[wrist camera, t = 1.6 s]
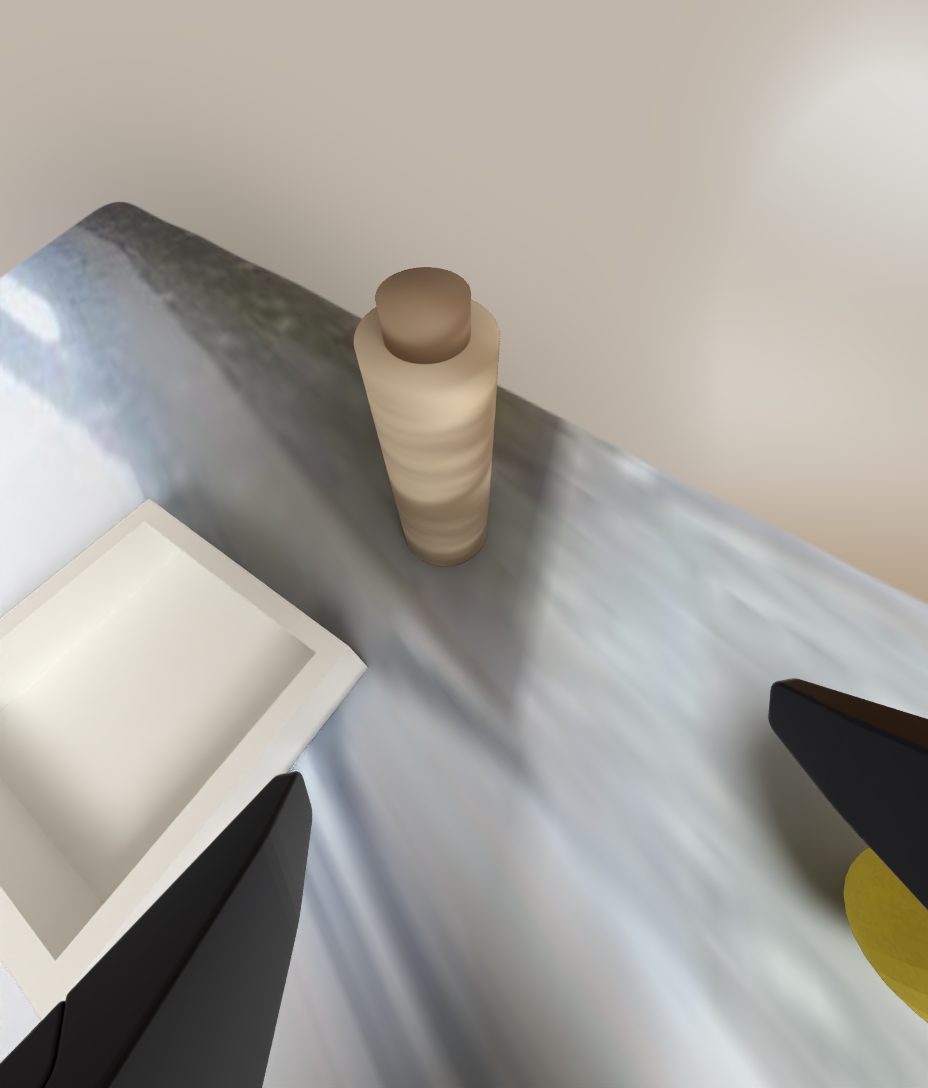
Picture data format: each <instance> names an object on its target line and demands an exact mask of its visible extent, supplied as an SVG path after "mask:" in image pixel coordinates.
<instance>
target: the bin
mask: <svg viewBox="0 0 928 1088" xmlns="http://www.w3.org/2000/svg"><path fill="white" fill-rule="evenodd" d="M367 669H368V667H367V666H366V665H365V664H364V662H363V661H362V660H361V659H360V658H359V657H358V656H357V655H356V654H355V653H354V651H353V650H352V649H351V648H350V647H349V646H348V645H346V644H345V643H344V642H342V641H341V640H340V639H338V638H337V637H336V636H334V635H333V634H332V633H330V632H329V631H327V630H326V629H325V628H323V627H322V626H321V625H319V624H318V623H317V622H315V621H314V620H313V619H311V618H310V617H309V616H307V615H306V614H304V613H303V612H302V611H300V610H299V609H298V608H296V607H295V606H294V605H292V604H291V603H290V602H288V601H287V600H286V599H284V598H283V597H282V596H280V595H279V594H277V593H276V592H275V591H273V590H272V589H271V588H269V587H268V586H267V585H265V584H264V583H263V582H261V581H260V580H259V579H257V578H256V577H254V576H253V575H252V574H250V573H249V572H248V571H246V570H245V569H244V568H242V567H241V566H240V565H238V564H237V563H236V562H234V561H233V560H231V559H230V558H229V557H227V556H226V555H225V554H223V553H222V552H221V551H219V550H218V549H217V548H215V547H214V546H213V545H211V544H210V543H209V542H207V541H206V540H204V539H203V538H202V537H200V536H199V535H198V534H196V533H195V532H194V531H192V530H191V529H190V528H188V527H187V526H186V525H184V524H183V523H181V522H180V521H179V520H177V519H176V518H175V517H173V516H172V515H171V514H169V513H168V512H167V511H165V510H164V509H163V508H161V507H160V506H159V505H157V504H156V503H154V502H153V501H152V500H150V499H147V500H146V501H145V502H144V503H143V504H141V505H140V506H139V507H138V508H136V509H135V510H134V511H133V512H131V513H130V514H129V515H128V516H126V517H125V518H124V519H123V520H121V521H120V522H119V523H118V524H116V525H115V526H114V527H113V528H111V529H110V530H109V531H108V532H107V533H105V534H104V535H103V536H102V537H100V538H99V539H98V540H97V541H95V542H94V543H93V544H92V545H90V546H89V547H88V548H87V549H85V550H84V551H83V552H82V553H80V554H79V555H78V556H77V557H75V558H74V559H73V560H72V561H70V562H69V563H68V564H67V565H66V566H64V567H63V568H62V569H61V570H59V571H58V572H57V573H56V574H54V575H53V576H52V577H51V578H49V579H48V580H47V581H46V582H44V583H43V584H42V585H41V586H39V587H38V588H37V589H36V590H34V591H33V592H32V593H31V594H29V595H28V596H27V597H26V598H25V599H23V600H22V601H21V602H20V603H18V604H17V605H16V606H15V607H13V608H12V609H11V610H10V611H8V612H7V613H6V614H5V615H3V616H2V617H1V618H0V960H1V962H2V963H3V965H4V966H5V968H6V969H7V971H8V972H9V973H10V975H11V976H12V978H13V979H14V981H15V982H16V984H17V985H18V987H19V988H20V989H21V991H22V992H23V994H24V995H25V997H26V998H27V1000H28V1001H29V1003H30V1004H31V1005H32V1007H33V1008H34V1010H35V1011H36V1013H37V1014H38V1016H39V1017H40V1019H41V1020H43V1019H44V1017H45V1016H46V1015H47V1014H48V1013H49V1012H50V1011H51V1010H52V1009H53V1008H54V1007H55V1006H56V1005H57V1004H58V1003H59V1002H60V1001H65V1000H66V996H67V994H68V993H69V991H70V990H71V989H72V988H73V987H74V986H75V985H76V984H77V983H78V982H79V981H80V980H81V979H82V978H83V977H84V976H85V975H86V974H87V973H88V972H89V971H90V969H91V968H92V967H93V966H94V965H95V964H96V963H97V962H98V961H99V960H100V959H101V958H102V957H103V956H104V955H105V954H106V953H107V952H108V951H109V950H110V948H111V947H112V946H113V945H114V944H115V943H116V942H117V941H118V940H119V939H120V938H121V937H122V936H123V935H124V934H125V933H126V932H127V931H128V930H129V929H130V927H131V926H132V925H133V924H134V923H135V922H136V921H137V920H138V919H139V918H140V917H141V916H142V915H143V914H144V913H145V912H146V911H147V910H148V909H149V908H150V906H151V905H152V904H153V903H154V902H155V901H156V900H157V899H158V898H159V897H160V896H161V895H162V894H163V893H164V892H165V891H166V890H167V889H168V888H169V887H170V885H171V884H172V883H173V882H174V881H175V880H176V879H177V878H178V877H179V876H180V875H181V874H182V873H183V872H184V871H185V870H186V869H187V868H188V867H189V866H190V864H191V863H192V862H193V861H194V860H195V859H196V858H197V857H198V856H199V855H200V854H201V853H202V852H203V851H204V850H205V849H206V848H207V847H208V846H209V845H210V844H211V842H212V841H213V840H214V839H215V838H216V837H217V836H218V835H219V834H220V833H221V832H222V831H223V830H224V829H225V828H226V827H227V826H228V825H229V824H230V823H231V821H232V820H233V819H234V818H235V817H236V816H237V815H238V814H239V813H240V812H241V811H242V810H243V809H244V808H245V807H246V806H247V805H248V804H249V803H250V802H251V800H252V799H253V798H254V797H255V796H256V795H257V794H258V793H259V792H260V791H261V790H262V789H263V788H264V787H265V786H266V785H267V784H268V783H269V782H270V781H271V779H273V778H274V777H275V776H276V775H279V774H284V773H287V772H288V771H289V769H290V768H291V767H292V765H293V764H294V763H295V761H296V760H297V759H298V758H299V756H300V755H301V754H302V752H303V751H304V750H305V749H306V747H307V746H308V745H309V743H310V742H311V741H312V740H313V738H314V737H315V736H316V734H317V733H318V732H319V731H320V729H321V728H322V727H323V725H324V724H325V723H326V721H327V720H328V719H329V718H330V716H331V715H332V714H333V712H334V711H335V710H336V709H337V707H338V706H339V705H340V703H341V702H342V701H343V700H344V698H345V697H346V696H347V694H348V693H349V692H350V691H351V689H352V688H353V687H354V685H355V684H356V683H357V681H358V680H359V679H360V678H361V676H362V675H363V674H364V672H365V671H366V670H367Z"/></svg>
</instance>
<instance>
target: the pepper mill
mask: <svg viewBox="0 0 928 1088" xmlns="http://www.w3.org/2000/svg"><path fill="white" fill-rule="evenodd" d="M375 300H376V305H377V307H375V308H374V309H372V310H371V311H370V312H369V313H368V314H367V315H365V317H364V318H363V319H362V320H361V322H360V323H359V325H358V326H357V329H356V331H355V335H354V347H355V352H356V356H357V359H358V363H359V367H360V371H361V374H362V378H363V382H364V386H365V389H366V393H367V397H368V400H369V404H370V408H371V412H372V415H373V419H374V423H375V427H376V430H377V434H378V438H379V442H380V445H381V449H382V453H383V457H384V460H385V464H386V468H387V472H388V475H389V479H390V483H391V487H392V490H393V494H394V498H395V502H396V505H397V509H398V513H399V517H400V520H401V524H402V528H403V532H404V535H405V539H406V542H407V545H408V547H409V548H410V550H411V551H412V552H413V554H414V555H416V556H417V557H418V558H419V559H421V560H422V561H424V562H426V563H429V564H432V565H436V566H454V565H458V564H461V563H463V562H465V561H467V560H469V559H471V558H472V557H473V556H475V555H476V554H477V553H478V552H479V550H480V549H481V548H482V546H483V544H484V542H485V539H486V535H487V524H488V509H489V494H490V479H491V465H492V450H493V435H494V420H495V405H496V391H497V376H498V375H497V374H498V361H499V345H500V330H499V326H498V324H497V322H496V320H495V318H494V317H493V315H492V314H491V313H490V312H489V311H488V310H487V309H486V308H484V307H483V306H482V305H480V304H479V303H477V302H475V301H473V300H471V291H470V287H469V285H468V284H467V282H466V281H465V280H464V279H463V278H462V277H460V276H459V275H457V274H455V273H453V272H451V271H448V270H444V269H439V268H431V267H421V268H413V269H408V270H404V271H401V272H398V273H396V274H394V275H392V276H390V277H389V278H387V279H386V280H385V281H384V282H382V284H381V285H380V286H379V287H378V289H377V292H376V295H375Z"/></svg>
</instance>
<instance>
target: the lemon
mask: <svg viewBox="0 0 928 1088" xmlns="http://www.w3.org/2000/svg"><path fill="white" fill-rule="evenodd" d="M844 901H845V909H846V914H847V917H848V920H849V923H850V926H851V929H852V933H853V935H854V937H855V939H856V940H857V942H858V944H859V946H860V948H861V950H862V952H863V954H864V955H865V957H866V958H867V960H868V961H869V963H870V964H871V965H872V967H873V968H874V969H875V971H876V972H877V973H878V975H879V976H880V977H881V979H882V980H883V981H884V982H885V983H886V984H887V986H888V987H889V988H890V989H891V990H892V991H893V992H894V993H895V994H896V995H897V996H898V997H899V998H900V999H901V1000H903V1001H904V1002H905V1003H906V1004H907V1005H908V1006H909V1007H910V1008H911V1009H912V1010H913V1011H914V1012H915V1013H916V1014H917V1015H919V1016H920V1017H921V1018H922V1019H924V1020H925V1021H926V1022H927V1023H928V910H927V909H926V908H925V907H924V906H923V905H922V904H921V903H920V902H919V901H918V899H917V898H916V897H915V896H914V895H913V894H912V893H911V892H910V891H909V890H908V889H907V887H906V886H905V885H904V884H903V883H902V882H901V881H900V880H899V879H898V878H897V877H896V875H895V874H894V873H893V872H892V871H891V870H890V869H889V868H888V867H887V866H886V865H885V863H884V862H883V861H882V860H881V859H880V858H879V857H878V856H877V855H876V854H875V853H874V851H873V850H872V849H871V848H870V847H869V848H867V849H865V850H864V851H862V852H861V854H860V855H859V856H858V857H857V858H856V859H855V860H854V861H853V862H852V864H851V865H850V868H849V870H848V873H847V875H846V877H845V885H844Z"/></svg>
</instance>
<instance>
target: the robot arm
mask: <svg viewBox="0 0 928 1088" xmlns="http://www.w3.org/2000/svg"><path fill="white" fill-rule="evenodd" d="M768 718H769V723H770V725H771V727H772V729H773V731H774V732H775V734H776V735H777V736H778V738H779V739H780V740H781V741H782V743H783V744H784V745H785V746H786V748H787V749H788V750H789V752H790V753H791V754H792V755H793V757H794V758H795V759H796V761H797V762H798V763H799V764H800V766H801V767H802V768H803V769H804V771H805V772H806V773H807V775H808V776H809V777H810V778H811V780H812V781H813V782H814V783H815V785H816V786H817V787H818V789H819V790H820V791H821V792H822V794H823V795H824V796H825V797H826V799H827V800H828V801H829V802H830V803H831V805H832V806H833V807H834V808H835V809H836V811H837V812H838V813H839V814H840V815H841V816H842V817H843V819H844V820H845V821H846V822H847V823H848V824H849V825H850V826H851V827H852V829H853V830H854V831H855V832H856V833H857V834H858V835H859V836H860V837H861V838H862V839H863V841H864V842H865V843H866V844H867V845H868V846H869V847H870V848H871V849H872V850H873V851H874V853H875V854H876V855H877V856H878V857H879V858H880V859H881V860H882V861H883V862H884V863H885V865H886V866H887V867H888V868H889V869H890V870H891V871H892V872H893V873H894V874H895V875H896V877H897V878H898V879H899V880H900V881H901V882H902V883H903V884H904V885H905V886H906V887H907V889H908V890H909V891H910V892H911V893H912V894H913V895H914V896H915V897H916V898H917V899H918V901H919V902H920V903H921V904H922V905H923V906H924V907H925V908H926V909H927V910H928V719H926V718H922V717H919V716H916V715H913V714H910V713H906V712H903V711H900V710H897V709H894V708H890V707H887V706H884V705H881V704H877V703H874V702H871V701H868V700H865V699H861V698H858V697H855V696H852V695H848V694H845V693H842V692H839V691H836V690H832V689H829V688H826V687H823V686H820V685H816V684H813V683H810V682H807V681H803V680H800V679H787V680H781V681H777V682H775V683H773V685H772V686H771V691H770V702H769V714H768ZM311 824H312V808H311V804H310V800H309V797H308V793H307V790H306V786H305V783H304V779H303V777H302V775H301V773H300V772H297V771H295V772H289V773H284V774H279V775H276V776H275V777H274V778H273V779H271V781H270V782H269V783H268V784H267V785H266V786H265V787H264V788H263V789H262V790H261V791H260V792H259V793H258V794H257V795H256V796H255V797H254V798H253V799H252V800H251V802H250V803H249V804H248V805H247V806H246V807H245V808H244V809H243V810H242V811H241V812H240V813H239V814H238V815H237V816H236V817H235V818H234V819H233V820H232V821H231V823H230V824H229V825H228V826H227V827H226V828H225V829H224V830H223V831H222V832H221V833H220V834H219V835H218V836H217V837H216V838H215V839H214V840H213V841H212V842H211V844H210V845H209V846H208V847H207V848H206V849H205V850H204V851H203V852H202V853H201V854H200V855H199V856H198V857H197V858H196V859H195V860H194V861H193V862H192V863H191V864H190V866H189V867H188V868H187V869H186V870H185V871H184V872H183V873H182V874H181V875H180V876H179V877H178V878H177V879H176V880H175V881H174V882H173V883H172V884H171V885H170V887H169V888H168V889H167V890H166V891H165V892H164V893H163V894H162V895H161V896H160V897H159V898H158V899H157V900H156V901H155V902H154V903H153V904H152V905H151V906H150V908H149V909H148V910H147V911H146V912H145V913H144V914H143V915H142V916H141V917H140V918H139V919H138V920H137V921H136V922H135V923H134V924H133V925H132V926H131V927H130V929H129V930H128V931H127V932H126V933H125V934H124V935H123V936H122V937H121V938H120V939H119V940H118V941H117V942H116V943H115V944H114V945H113V946H112V947H111V948H110V950H109V951H108V952H107V953H106V954H105V955H104V956H103V957H102V958H101V959H100V960H99V961H98V962H97V963H96V964H95V965H94V966H93V967H92V968H91V969H90V971H89V972H88V973H87V974H86V975H85V976H84V977H83V978H82V979H81V980H80V981H79V982H78V983H77V984H76V985H75V986H74V987H73V988H72V989H71V990H70V991H69V993H68V994H67V996H66V1000H65V1001H60V1002H59V1003H58V1004H57V1005H56V1006H55V1007H54V1008H53V1009H52V1010H51V1011H50V1012H49V1013H48V1014H47V1015H46V1016H45V1017H44V1019H43V1020H42V1021H41V1022H40V1023H39V1024H38V1025H37V1026H36V1027H35V1028H34V1029H33V1030H32V1031H31V1032H30V1033H29V1034H28V1035H27V1036H26V1037H25V1038H24V1039H23V1040H22V1042H21V1043H20V1044H19V1045H18V1046H17V1047H16V1048H15V1049H14V1050H13V1051H12V1052H11V1053H10V1054H9V1055H8V1056H7V1057H6V1058H5V1059H4V1060H3V1061H2V1062H1V1063H0V1088H262V1085H263V1081H264V1076H265V1072H266V1067H267V1063H268V1058H269V1054H270V1049H271V1045H272V1040H273V1036H274V1032H275V1027H276V1023H277V1018H278V1014H279V1009H280V1005H281V1000H282V996H283V991H284V987H285V982H286V978H287V973H288V969H289V964H290V960H291V955H292V951H293V947H294V942H295V937H296V932H297V927H298V922H299V916H300V910H301V903H302V895H303V887H304V879H305V871H306V864H307V856H308V848H309V840H310V832H311Z"/></svg>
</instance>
